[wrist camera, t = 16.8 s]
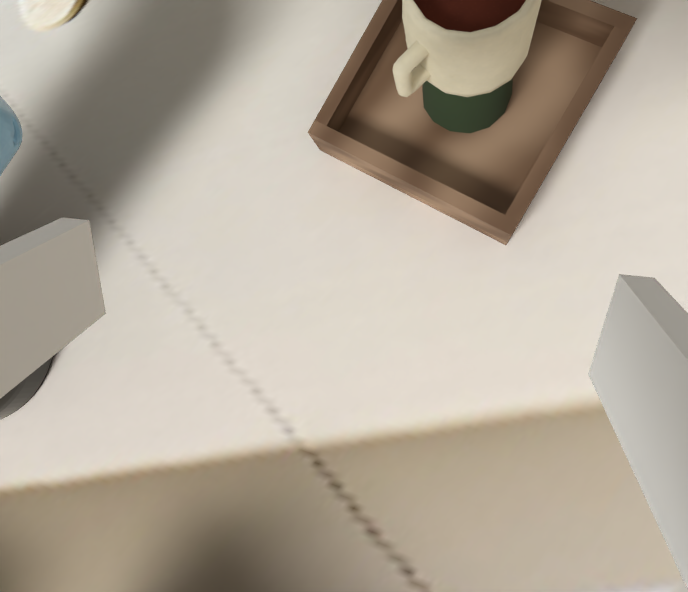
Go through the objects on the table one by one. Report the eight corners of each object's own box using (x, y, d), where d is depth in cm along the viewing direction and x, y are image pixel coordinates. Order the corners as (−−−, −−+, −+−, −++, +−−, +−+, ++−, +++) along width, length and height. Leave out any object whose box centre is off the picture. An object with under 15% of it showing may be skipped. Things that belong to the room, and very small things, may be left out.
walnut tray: (320, 150, 41) (307, 132, 37) (422, -30, 40) (419, -65, 37) (505, 245, 37) (511, 235, 34) (620, 48, 37) (636, 18, 33)
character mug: (487, 11, 38) (505, -157, 25) (559, 73, 36) (616, -71, 24) (378, 116, 39) (342, 7, 26) (443, 181, 37) (439, 98, 25)
